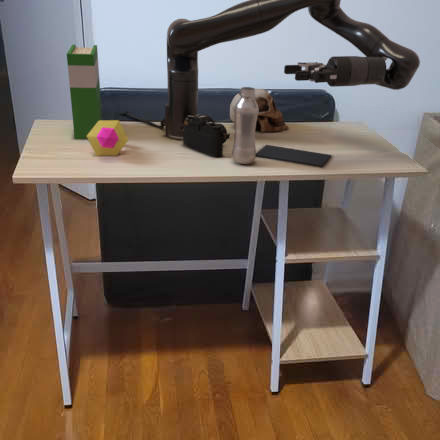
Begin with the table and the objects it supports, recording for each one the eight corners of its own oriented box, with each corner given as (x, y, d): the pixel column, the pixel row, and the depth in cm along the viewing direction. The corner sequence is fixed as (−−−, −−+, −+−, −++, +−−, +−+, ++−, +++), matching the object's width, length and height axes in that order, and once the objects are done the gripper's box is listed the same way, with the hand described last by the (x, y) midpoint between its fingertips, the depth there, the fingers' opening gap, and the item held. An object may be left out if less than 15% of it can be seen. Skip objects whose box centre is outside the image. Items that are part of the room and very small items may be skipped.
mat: (254, 156, 162) (254, 154, 162) (266, 146, 171) (266, 144, 171) (322, 167, 156) (322, 165, 156) (330, 156, 165) (330, 154, 165)
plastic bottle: (255, 166, 154) (261, 91, 144) (231, 165, 154) (235, 90, 144) (254, 159, 160) (260, 86, 149) (231, 158, 160) (235, 85, 149)
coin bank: (291, 127, 189) (292, 87, 182) (257, 142, 180) (256, 99, 172) (258, 119, 199) (257, 80, 191) (223, 132, 190) (221, 92, 182)
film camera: (243, 148, 168) (245, 115, 163) (223, 159, 158) (225, 124, 153) (192, 138, 175) (193, 105, 170) (170, 148, 165) (170, 113, 160)
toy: (131, 147, 167) (114, 114, 164) (133, 147, 150) (115, 110, 147) (100, 162, 167) (83, 129, 163) (100, 164, 150) (81, 127, 146)
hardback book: (79, 123, 184) (72, 44, 171) (102, 123, 185) (97, 45, 172) (74, 139, 169) (66, 53, 157) (99, 139, 170) (93, 54, 157)
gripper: (337, 52, 154) (282, 52, 150) (360, 61, 142) (300, 62, 139) (334, 80, 158) (280, 82, 154) (356, 91, 146) (298, 93, 143)
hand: (290, 72), depth 146 cm, fingers open, 8 cm apart
